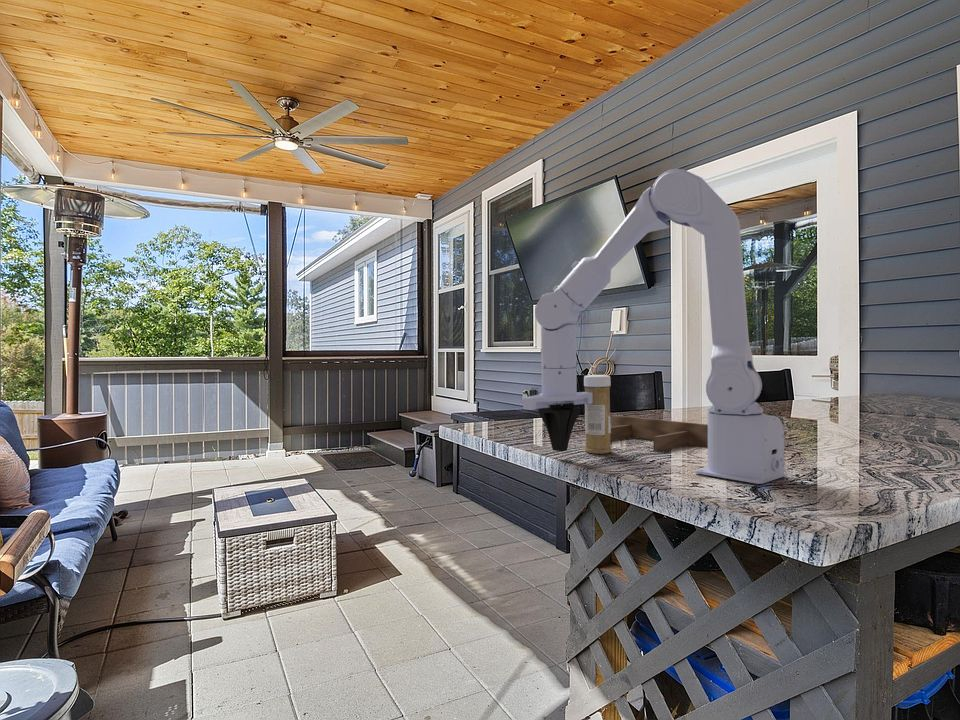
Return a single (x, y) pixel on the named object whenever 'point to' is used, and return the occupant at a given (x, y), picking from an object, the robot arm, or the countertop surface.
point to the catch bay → (660, 432)
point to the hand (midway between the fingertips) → (559, 450)
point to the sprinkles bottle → (598, 414)
